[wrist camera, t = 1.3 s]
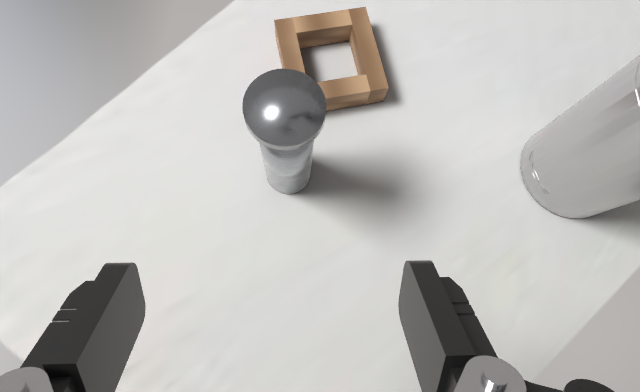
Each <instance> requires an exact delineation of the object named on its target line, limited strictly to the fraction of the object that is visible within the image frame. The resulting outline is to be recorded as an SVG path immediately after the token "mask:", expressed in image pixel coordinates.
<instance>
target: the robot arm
mask: <svg viewBox="0 0 640 392" xmlns="http://www.w3.org/2000/svg"><path fill="white" fill-rule="evenodd" d="M521 173H522V177H523V181H524V183H525V185H526V187H527V189H528V191H529V192H530V193H531V195H532V196H533V198H534V199H535V200H536V201H537V202H538V203H539V204H541V205H542V206H543V207H544V208H546V209H547V210H549V211H551V212H553V213H555V214H557V215H560V216H563V217H568V218H585V217H590V216H593V215H596V214H599V213H602V212H605V211H608V210H611V209H614V208H617V207H620V206H624V205H627V204H629V203H632V202H635V201H638V200H640V56H638V57H637V58H636V59H634V60H633V61H632V62H630V63H629V64H628V65H626V66H625V67H624V68H622V69H621V70H620V71H618V72H617V73H616V74H614V75H613V76H612V77H610V78H609V79H608V80H607V81H605V82H604V83H603V84H601V85H600V86H599V87H597V88H596V89H595V90H593V91H592V92H591V93H589V94H588V95H587V96H585V97H584V98H583V99H581V100H580V101H579V102H577V103H576V104H575V105H573V106H572V107H571V108H569V109H568V110H567V111H566V112H564V113H563V114H562V115H560V116H559V117H557V118H556V119H555V120H553V121H552V122H551V123H550V124H548V125H547V126H546V127H544V128H543V129H542V130H540V131H539V132H538V133H537V134H535V135H534V136H533V137H531V139H530V140H529V141H528V142H527V144H526V145H525V147H524V150H523V152H522V156H521ZM399 315H400V320H401V323H402V327H403V330H404V333H405V337H406V340H407V343H408V347H409V350H410V353H411V357H412V360H413V363H414V367H415V370H416V373H417V377H418V380H419V383H420V386H421V390H422V392H614V391H612V390H611V389H610V388H608V387H606V386H604V385H602V384H600V383H597V382H595V381H591V380H587V379H576V380H572V381H570V382H569V383H568V384H567V385H566V386H565V388H564V390H563V391H561V390H557V389H553V388H549V387H545V386H541V385H537V384H534V383H530V382H528V381H525V380H523V378H522V376H521V375H520V373H519V372H518V371H517V370H516V369H515V368H514V367H513V366H511V365H510V364H509V363H507V362H505V361H503V360H501V359H499V358H498V357H497V355H496V353H495V351H494V349H493V347H492V345H491V344H490V342H489V340H488V338H487V336H486V334H485V332H484V330H483V328H482V326H481V324H480V322H479V320H478V319H477V317H476V316H475V313H474V311H473V309H472V307H471V305H469V301H468V299H467V297H466V295H465V293H464V292H463V290H462V288H461V287H460V286H458V285H457V284H456V283H455V282H454V281H453V280H452V279H451V278H450V277H439V275H438V273H437V270H436V268H435V266H434V264H433V262H432V261H406V262H405V265H404V270H403V276H402V283H401V289H400V295H399ZM144 317H145V300H144V296H143V291H142V287H141V282H140V278H139V273H138V269H137V266H136V264H135V263H106V264H105V265H104V266H103V268H102V269H101V271H100V272H99V274H98V276H97V277H96V279H95V280H94V281H85V282H84V283H83V284H81V285H80V286H79V287H78V288H76V289H75V290H74V291H73V292H71V293H70V294H69V296H68V297H67V299H66V300H65V302H64V303H63V305H62V306H61V308H60V311H58V312H57V314H56V315H55V317H54V318H53V320H52V323H50V324H49V325H48V327H47V328H46V330H45V331H44V333H43V334H42V336H41V337H40V339H39V340H38V342H37V343H36V345H35V346H34V348H33V349H32V351H31V352H30V354H29V355H28V357H27V358H26V360H25V361H24V363H23V364H22V366H21V367H20V368H19V369H15V370H12V371H10V372H7V373H5V374H3V375H1V376H0V392H115V390H116V387H117V385H118V382H119V380H120V377H121V375H122V373H123V370H124V368H125V365H126V363H127V361H128V358H129V356H130V353H131V351H132V349H133V346H134V344H135V341H136V339H137V337H138V334H139V332H140V329H141V327H142V324H143V321H144Z"/></svg>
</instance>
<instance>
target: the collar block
mask: <svg viewBox="0 0 640 392" xmlns="http://www.w3.org/2000/svg"><path fill="white" fill-rule="evenodd" d="M274 21H275V34H276V41H277V45H278V50H279V54H280V59H281V64H282V68H283V69H293V70H297V71H300V72H303V73H305V69H304V65H303V61H302V56H301V52H300V48H306V47H312V46H319V45H325V44H332V43H338V42H345V41H349V42H350V46H351V49H352V53H353V57H354V61H355V64H356V68H357V72H358V75H359V76H353V77H347V78H341V79H335V80H329V81H322V82H317V83H318V85H319V86H320V87H321V89H322V91H323V93H324V95H325V99H326V111H329V110H335V109H341V108H346V107H352V106H358V105H364V104H370V103H376V102H381V101H384V99H385V96H386V94H387V91H388V89H389V87H388V83H387V80H386V76H385V73H384V69H383V66H382V62H381V59H380V55H379V52H378V48H377V45H376V42H375V38H374V35H373V31H372V28H371V24H370V21H369V17H368V14H367V10H366V7H361V8H355V9H348V10H341V11H334V12H327V13H320V14H313V15H306V16H300V17H293V18H286V19H279V20H274Z"/></svg>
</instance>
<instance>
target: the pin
mask: <svg viewBox="0 0 640 392" xmlns="http://www.w3.org/2000/svg"><path fill="white" fill-rule="evenodd" d="M243 114H244V118H245V122H246V125H247V127H248V130H249V131H250V133H251V134H252V136H253V137H254V138H255V139H256V140H257V141H259V142H260V147H261V151H262V156H263V161H264V165H265V170H266V175H267V179H268V182H269V183H270V185H271V186H272V187H273V188H274V189H275V190H276V191H278V192H280V193H284V194H293V193H297V192H299V191H301V190H302V189H303V188H304V187H305V186H306V185H307V184H308V182H309V179H310V173H311V163H312V152H313V142H314V139H315V138H316V137H317V136H318V134H319V133H320V131H321V130H322V128H323V125H324V122H325V116H326V99H325V95H324V93H323V91H322V89H321V87H320V86H319V85H318V83H317V82H316V81H315V80H314V79H313V78H311V77H310V76H308V75H307V74H305V73H303V72H300V71H297V70H293V69H276V70H271V71H268V72H266V73H264V74H262V75H260V76H259V77H257V78H256V79H255V80H254V81H253V82H252V83H251V84H250V86H249V87H248V88H247V90H246V92H245V95H244V98H243Z"/></svg>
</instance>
